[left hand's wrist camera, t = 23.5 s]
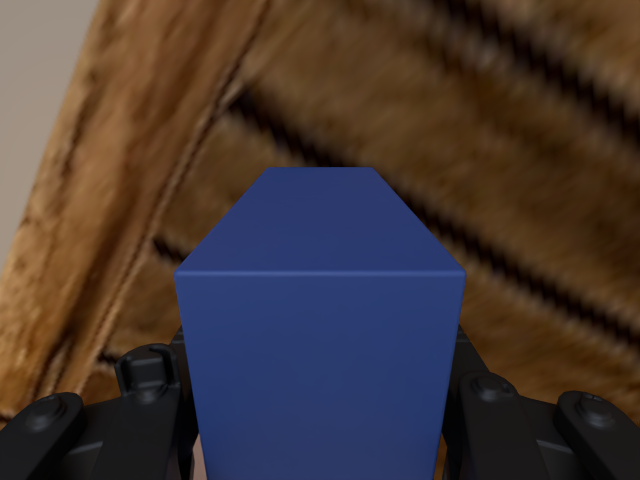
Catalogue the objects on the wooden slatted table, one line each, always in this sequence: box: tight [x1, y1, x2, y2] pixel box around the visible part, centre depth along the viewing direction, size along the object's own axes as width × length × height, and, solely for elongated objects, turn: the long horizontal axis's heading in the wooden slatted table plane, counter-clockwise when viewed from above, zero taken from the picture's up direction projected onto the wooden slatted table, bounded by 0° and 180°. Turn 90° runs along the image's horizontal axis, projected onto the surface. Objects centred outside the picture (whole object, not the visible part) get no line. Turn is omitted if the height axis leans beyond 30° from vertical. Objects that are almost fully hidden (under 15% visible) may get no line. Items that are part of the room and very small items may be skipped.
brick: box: [174, 167, 466, 480], centre depth 12 cm, size 9×5×11 cm, turn 0°
